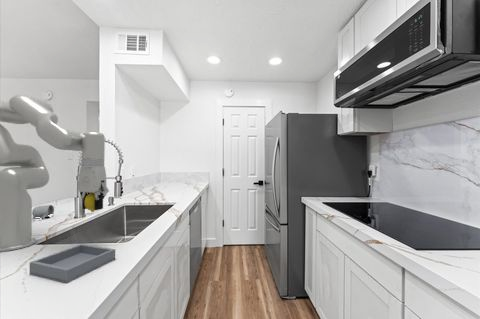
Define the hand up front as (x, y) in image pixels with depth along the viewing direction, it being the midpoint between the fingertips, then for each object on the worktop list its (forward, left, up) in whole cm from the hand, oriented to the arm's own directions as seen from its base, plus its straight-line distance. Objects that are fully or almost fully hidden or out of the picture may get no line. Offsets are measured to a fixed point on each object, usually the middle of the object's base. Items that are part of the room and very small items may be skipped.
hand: (92, 208), depth 89 cm
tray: (+10, -14, -15) cm, 23 cm away
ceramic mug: (-71, +24, -16) cm, 77 cm away
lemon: (0, 0, -2) cm, 2 cm away
